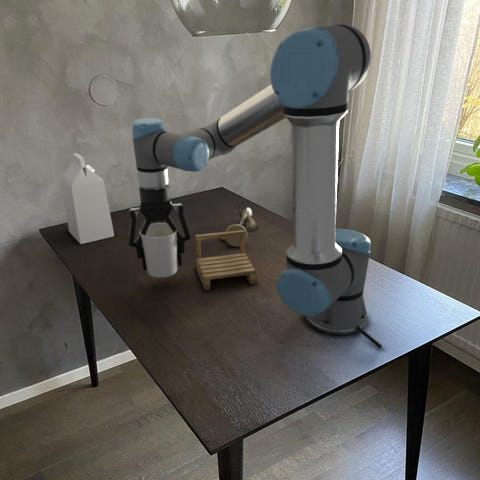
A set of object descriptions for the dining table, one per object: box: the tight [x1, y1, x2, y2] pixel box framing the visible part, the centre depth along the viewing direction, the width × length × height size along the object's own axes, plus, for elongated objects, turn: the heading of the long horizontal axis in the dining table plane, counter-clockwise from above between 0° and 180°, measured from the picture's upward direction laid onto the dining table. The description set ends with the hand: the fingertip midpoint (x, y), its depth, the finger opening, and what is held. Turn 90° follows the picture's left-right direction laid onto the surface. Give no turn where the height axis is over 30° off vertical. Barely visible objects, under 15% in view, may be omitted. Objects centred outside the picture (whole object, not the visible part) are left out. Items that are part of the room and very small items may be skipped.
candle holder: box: [138, 222, 178, 279], centre depth 137 cm, size 10×10×12 cm
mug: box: [220, 223, 248, 248], centre depth 164 cm, size 8×10×10 cm
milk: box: [61, 152, 115, 245], centre depth 164 cm, size 12×12×26 cm
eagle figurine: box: [232, 207, 257, 232], centre depth 175 cm, size 8×7×9 cm
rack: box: [195, 230, 257, 291], centre depth 144 cm, size 13×15×11 cm
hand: (162, 265), depth 139 cm, fingers closed on candle holder, 9 cm apart
